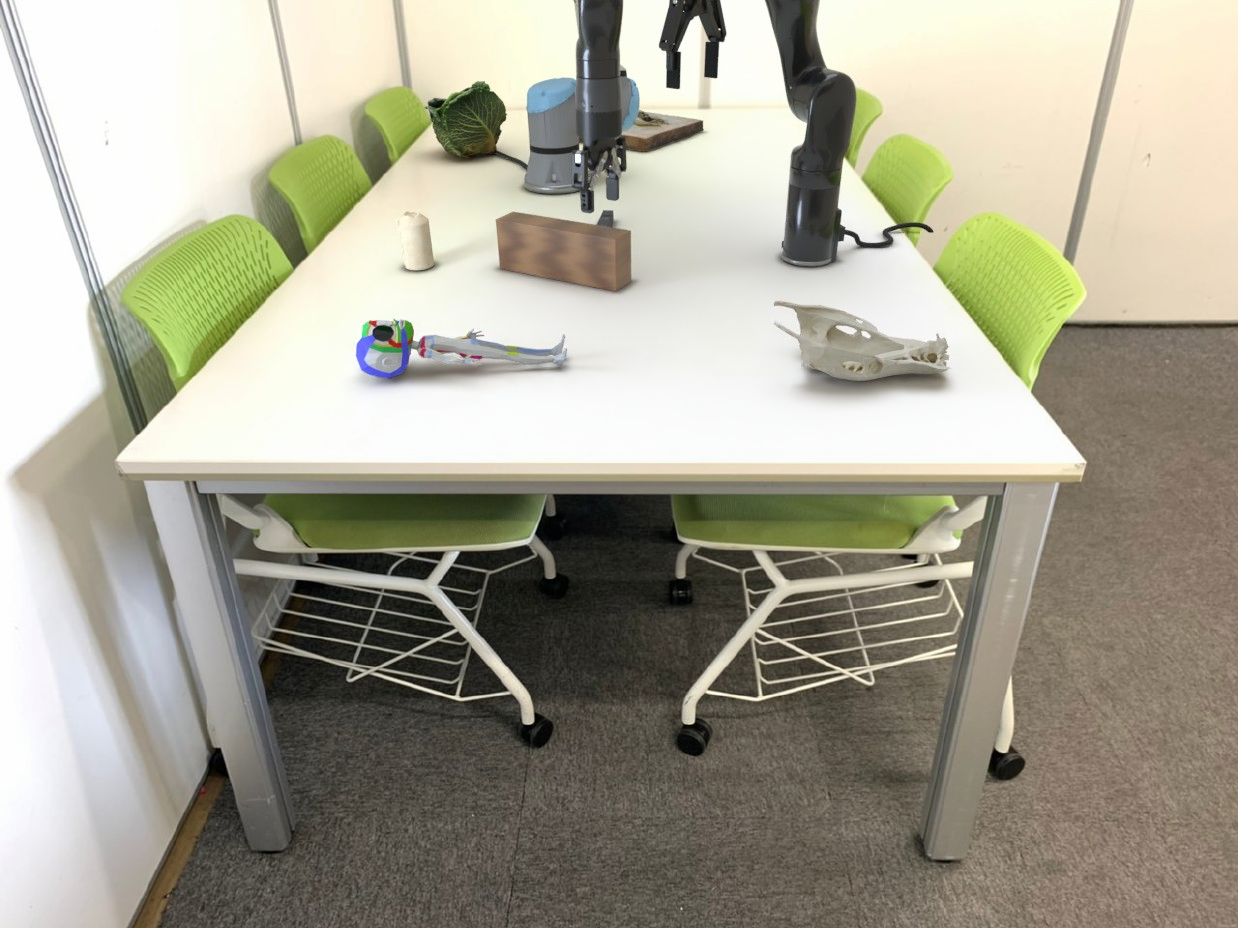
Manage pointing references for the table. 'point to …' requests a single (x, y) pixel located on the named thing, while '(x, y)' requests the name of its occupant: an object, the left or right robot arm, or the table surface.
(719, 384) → the table surface
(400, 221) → the candle
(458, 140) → the vegetable
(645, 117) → the plaque
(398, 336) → the toy
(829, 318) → the anatomical model
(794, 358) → the table surface
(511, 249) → the bar
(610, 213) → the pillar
